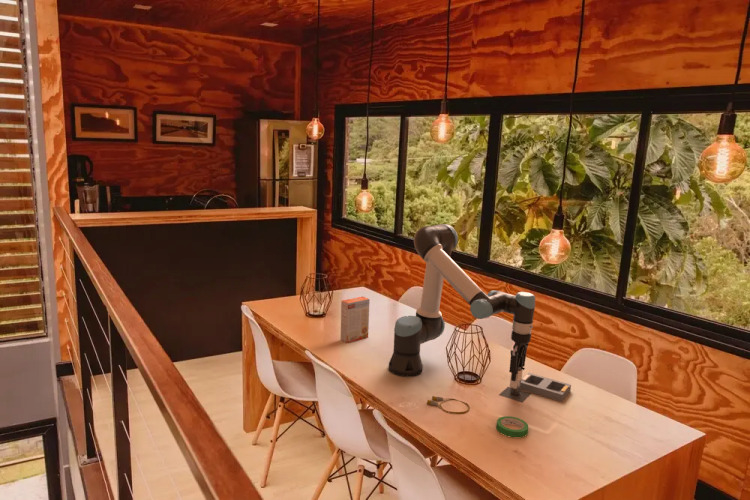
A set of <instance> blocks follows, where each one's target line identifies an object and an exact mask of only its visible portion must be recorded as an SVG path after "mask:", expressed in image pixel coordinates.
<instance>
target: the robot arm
mask: <svg viewBox="0 0 750 500" xmlns="http://www.w3.org/2000/svg"><path fill="white" fill-rule="evenodd" d="M458 242H459V236H458V233H457V231H456V230H455V228H454V227H453V226H452V225H450V224H445V223H439V224H435V225H434V224H433V225H425V226H422V227H421V228H419V229H418V230H417V231H416V232H415V235H414V237H413V245H414V249H415V251H416V252H417V253H418V256H420V258H421V259H422V260H423V261H424V262H425V263H426V264H425V269H424V270H425V271H424V276H423V277H424V279H423V286H422V293H421V299H420V307H418V308H416V312H415V315H404V316H401V317H399V318H397V319H396V320H395V323H394V329H393V330H394V331H393V332H394V333H393V335H394V336H393V351H392V354H391V358H389V359H390V360H389V362H388V371H389V372H390V373H391V374H394V375H396V376H399V377H416V376H419V375H421V374H422V373H423V372H424V371H423V361H422V358H421V345H422V344H424V343H427V342H429V341H434V340H436V339H437V338H439V337H440V336H441V335H443V333H444V331H445V327H446V325H445V324H446V323H445V321H444V318H443V316H442V312H441V311H440V305H441V299H442V293H443V286H444V280H445V281H447V282H448V284H449V285H450V286H451V287H452V288H453V289H454V290H455V291H456V292H457V293H458V294H459V295H460V296H461V297H462V298H463V300H464V301H466V302H467V304H469V306H470V307H469V308H470V309H469V311H470V313H471V315H472V316H473V317H474V318H475V319H477V320H483V319H487V318H490V317H491V316H494V315H497V314H499V313H507V314H509V315H513V318H512V325H511V326H512V327H511V329H512V330H511V336H510V339H511V341H512V342H514V344H513V347H512V349H511V350H510V362H509V371H508V372H509V373H511V374H510V383H509V387H512V388H515V389H516V388H517V382H518V374H519V373H518V368H519V366H521V369H522V370H523V371H525V369H526V367H525V365H526V357H527V352H528V346H529V343H530V342H531V339H532V330H533V328H534V325H533V321H534V316H535V315H534V314H535V310H536V296H535V294H533V293H531V292H528V291H527V292H525V291H519V292H517V293H516V294H514V295H513V294H510V293H507V292H503V291H501V290H490V291H489V292H487V294H486V293H485V292H484V290H482V289H481V288H480V286H478V284H477V283H475V281H473V279H472V278H471V277H470V276H469V275H468V274H467V273H466V272H465V271H464V270H463V269H462V268H461V267H460V266H459V264H457V263H456V262H455V261H454V260H453V259H452V258H451V255H452V251H453V250H454V249H455V248H456V247H457V245H458Z"/></svg>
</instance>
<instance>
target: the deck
mask: <svg viewBox="0 0 750 500" xmlns="http://www.w3.org/2000/svg"><path fill="white" fill-rule="evenodd" d="M531 395H532V393H531V392H527V391H524V390H521V389H520V394H519V395H514V394H511V393H510V386H507V387H506V388H505V389H503V390H502V391H501V392H500V393H499V394H498V396H500V397H504V398H506V399H510V400H513V401H517V402H519V403H524V401H526V400H527V399H528V397H530V396H531Z"/></svg>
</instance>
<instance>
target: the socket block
mask: <svg viewBox="0 0 750 500" xmlns="http://www.w3.org/2000/svg"><path fill="white" fill-rule="evenodd" d="M571 389H572V384H571V383H566V382H563V381H559V380H557V379H552V378H549V377H545V376H543V375H542V376H541V375H538V374H534V373H531V372H528V373H527V374H526V375H524V377H522V380H521V389H520V390H521V391H524V392H527V393H531V394H535V395H538V396H541V397H545V398H547V399H551V400H554V401H557V402H560V403H561V402H563V400H565V398H566V397H567V396H568V395H570V394H569V393H570V392H571Z"/></svg>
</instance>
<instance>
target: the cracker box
mask: <svg viewBox="0 0 750 500" xmlns="http://www.w3.org/2000/svg"><path fill="white" fill-rule="evenodd" d="M340 301H341V302H340V303H341V304H340V306H341V307H340V341H341V342H344V343H346V344H349V343H353V342H357V341H360V340H364V339H367V338H369V326H370V325H369V323H370V298H369V297H366V296H359V297H354V298H347V299H344V300H340Z"/></svg>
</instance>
